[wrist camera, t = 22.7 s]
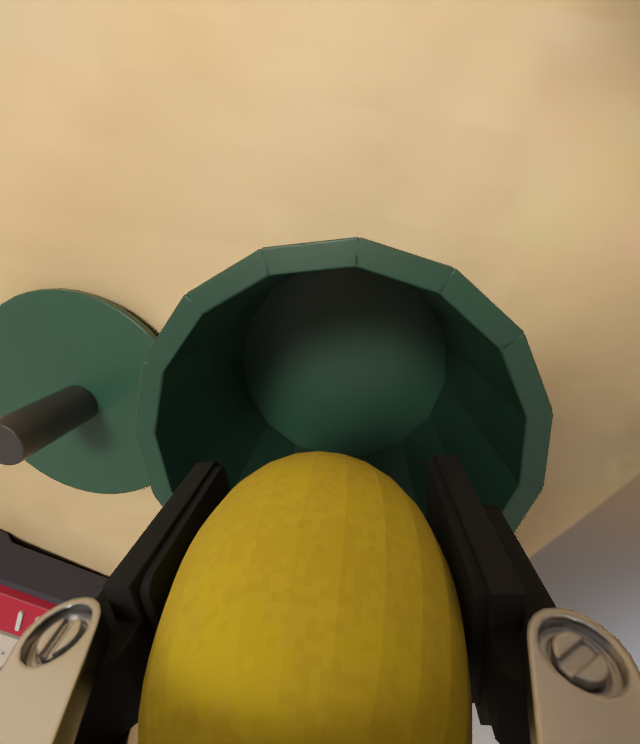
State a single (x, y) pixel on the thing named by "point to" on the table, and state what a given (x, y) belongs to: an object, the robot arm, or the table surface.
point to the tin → (345, 374)
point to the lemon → (310, 619)
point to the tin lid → (72, 388)
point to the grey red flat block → (35, 588)
